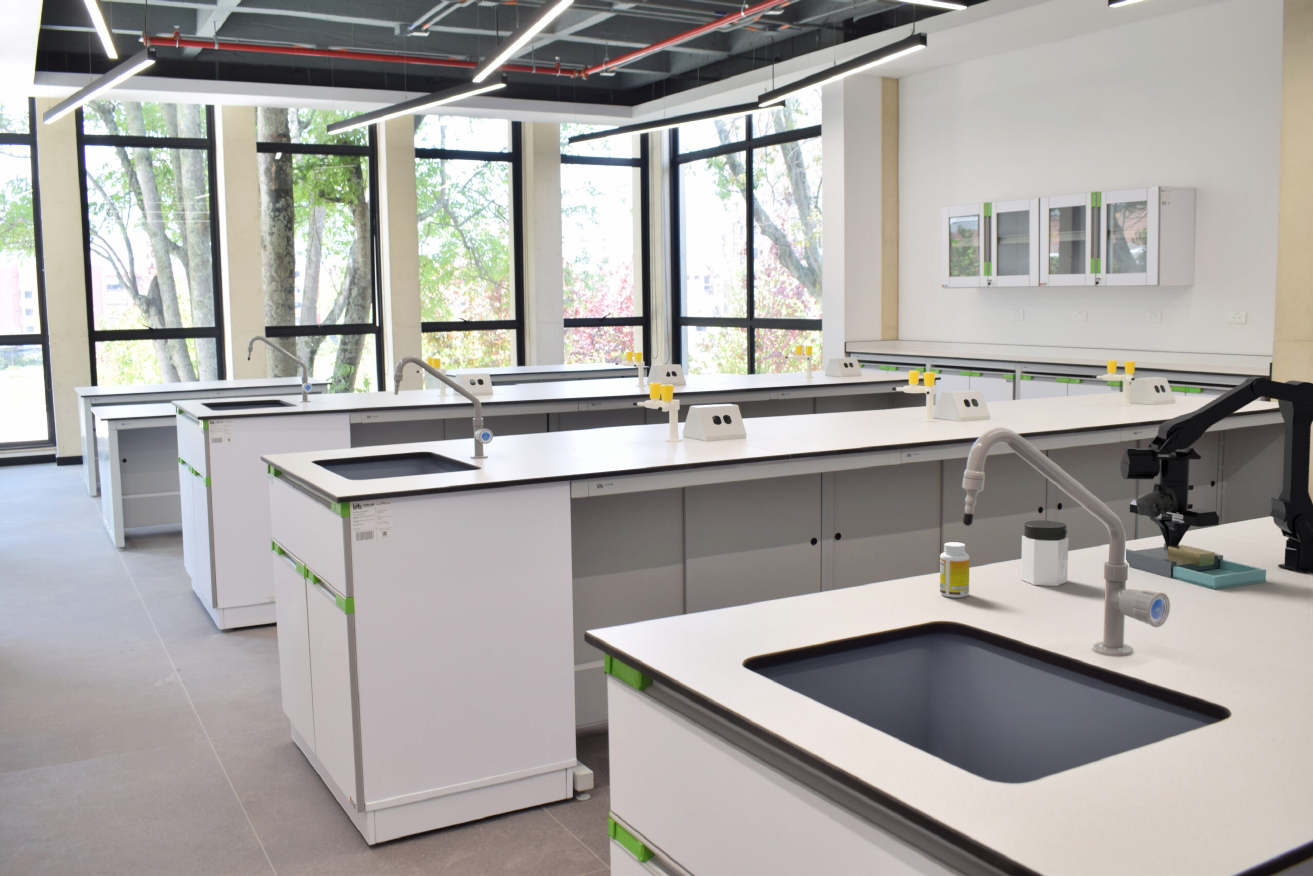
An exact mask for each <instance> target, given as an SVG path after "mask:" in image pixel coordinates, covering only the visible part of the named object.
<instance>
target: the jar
mask: <svg viewBox="0 0 1313 876" xmlns="http://www.w3.org/2000/svg"><path fill="white" fill-rule="evenodd" d="M1023 525H1024V526H1023V527H1024V529H1023V531H1024V533H1023V534H1024V535H1022V536H1021V567H1020V574H1021V575H1020V580H1021V581H1023V582H1026V583H1028V584H1030V585H1033V586H1044V587H1058V586H1061V585H1063V584H1066V583H1067V582H1068V571H1069V570H1068V567H1069V537H1067V534H1068V532H1067V531H1068V530H1067V524H1066V523H1063V522H1060V521H1055V520H1054V521H1053V520H1044V519H1043V520H1040V519H1039V520H1027V521H1026V522H1024V524H1023Z"/></svg>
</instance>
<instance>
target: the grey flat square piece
mask: <svg viewBox="0 0 1313 876" xmlns="http://www.w3.org/2000/svg"><path fill="white" fill-rule="evenodd" d="M1125 549H1126V560H1127V562H1128V563H1129V565H1130V567H1129V568H1131V569H1132V568H1133V569H1136V570H1138V571H1139V570H1140V571H1143V572H1148V573H1151V574H1155V575H1158V576H1162V577H1166V578H1168V579H1169V578H1170V579H1174V578H1173V566H1178V567H1182V568H1186V569H1190V570H1194V571H1197V572H1201V571H1208V570H1215V569H1220V563H1221V560H1224V555H1222V554H1218V553H1215V554H1214V564H1212V565H1205V566H1197V565H1193V564H1190V563H1186V562H1181V561H1177V560H1173V559H1169V558H1168V549H1167V546H1166V543H1165V542H1164V543H1163V546H1162V547H1161V546H1160V547H1154V548H1153V547H1152V548H1144V549H1136V550H1132V549H1128V548H1125Z"/></svg>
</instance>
